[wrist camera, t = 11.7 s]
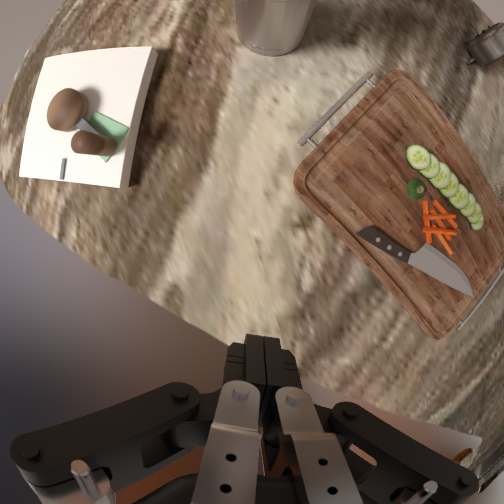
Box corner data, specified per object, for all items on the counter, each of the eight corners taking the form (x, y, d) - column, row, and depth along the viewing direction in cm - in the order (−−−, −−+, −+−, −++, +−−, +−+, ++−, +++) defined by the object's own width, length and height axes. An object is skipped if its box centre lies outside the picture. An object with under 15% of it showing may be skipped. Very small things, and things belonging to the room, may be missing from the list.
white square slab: (55, 62, 31) (44, 57, 28) (158, 54, 32) (151, 45, 29) (30, 175, 36) (18, 176, 33) (128, 187, 37) (118, 188, 34)
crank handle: (50, 118, 31) (19, 112, 24) (73, 84, 30) (45, 72, 23) (101, 170, 33) (71, 170, 26) (128, 134, 32) (102, 125, 25)
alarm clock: (468, 73, 32) (528, 52, 16) (450, 49, 31) (507, 20, 15) (488, 54, 30) (541, 35, 14) (472, 32, 29) (522, 7, 13)
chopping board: (515, 248, 40) (524, 252, 37) (438, 349, 45) (446, 357, 42) (385, 54, 33) (393, 47, 30) (269, 171, 37) (271, 170, 34)
